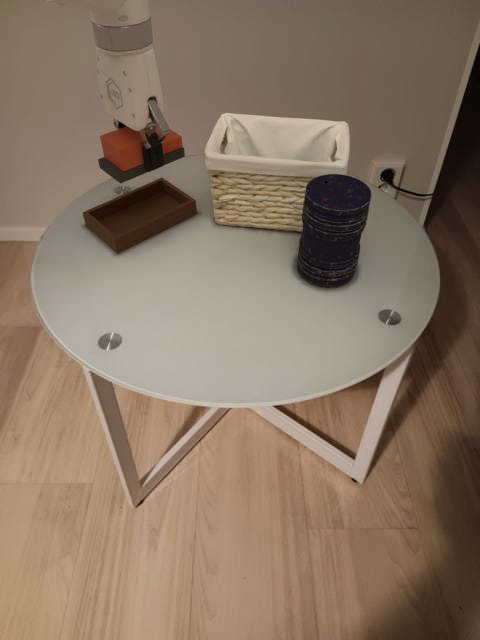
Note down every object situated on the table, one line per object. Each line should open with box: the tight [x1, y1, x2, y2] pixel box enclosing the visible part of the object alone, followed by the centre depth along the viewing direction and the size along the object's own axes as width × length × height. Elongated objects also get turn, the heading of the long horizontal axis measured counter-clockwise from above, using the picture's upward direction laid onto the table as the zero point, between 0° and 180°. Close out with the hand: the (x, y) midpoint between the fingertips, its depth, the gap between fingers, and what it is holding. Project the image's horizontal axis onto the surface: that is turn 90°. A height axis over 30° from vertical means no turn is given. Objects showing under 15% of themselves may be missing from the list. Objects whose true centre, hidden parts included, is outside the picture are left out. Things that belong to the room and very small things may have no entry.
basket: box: [203, 112, 351, 233], centre depth 92 cm, size 24×16×15 cm
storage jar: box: [296, 174, 373, 289], centre depth 80 cm, size 10×10×15 cm
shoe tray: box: [82, 177, 198, 254], centre depth 94 cm, size 18×11×3 cm, turn 132°
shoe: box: [97, 126, 186, 184], centre depth 78 cm, size 12×6×5 cm, turn 131°
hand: (142, 158), depth 79 cm, fingers closed on shoe, 6 cm apart
